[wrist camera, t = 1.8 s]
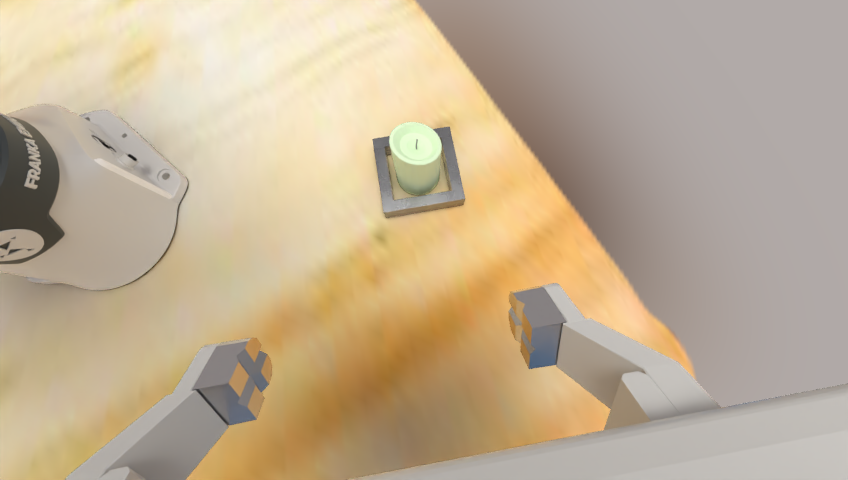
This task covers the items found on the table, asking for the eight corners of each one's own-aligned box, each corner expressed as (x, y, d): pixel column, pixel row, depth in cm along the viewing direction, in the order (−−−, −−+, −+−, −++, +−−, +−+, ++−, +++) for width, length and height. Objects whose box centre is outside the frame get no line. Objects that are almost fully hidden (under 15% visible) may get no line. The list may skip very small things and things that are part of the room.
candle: (423, 149, 38) (422, 105, 30) (447, 180, 37) (453, 144, 29) (388, 170, 37) (378, 132, 29) (412, 203, 36) (408, 173, 28)
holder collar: (463, 204, 36) (465, 198, 34) (386, 217, 36) (383, 212, 34) (448, 136, 38) (449, 126, 36) (375, 147, 38) (372, 139, 36)
